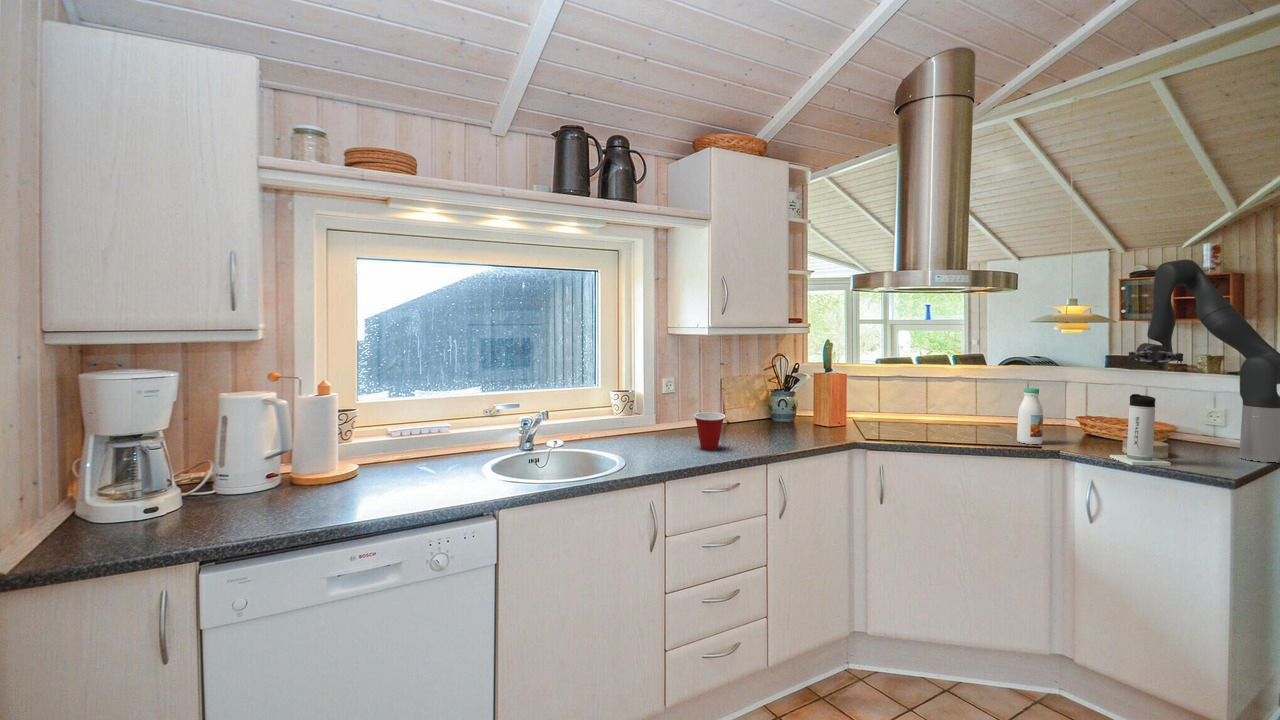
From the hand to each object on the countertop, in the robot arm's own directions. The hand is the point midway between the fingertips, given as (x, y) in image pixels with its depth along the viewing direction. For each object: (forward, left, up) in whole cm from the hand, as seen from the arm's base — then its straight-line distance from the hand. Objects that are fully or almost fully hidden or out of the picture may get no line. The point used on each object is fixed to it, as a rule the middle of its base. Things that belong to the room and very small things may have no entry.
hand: (1155, 357), depth 202 cm
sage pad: (+15, +16, -32) cm, 39 cm away
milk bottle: (+33, -12, -32) cm, 47 cm away
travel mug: (+15, +16, -31) cm, 38 cm away
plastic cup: (+149, +9, -32) cm, 153 cm away
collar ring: (+5, +4, -32) cm, 33 cm away
